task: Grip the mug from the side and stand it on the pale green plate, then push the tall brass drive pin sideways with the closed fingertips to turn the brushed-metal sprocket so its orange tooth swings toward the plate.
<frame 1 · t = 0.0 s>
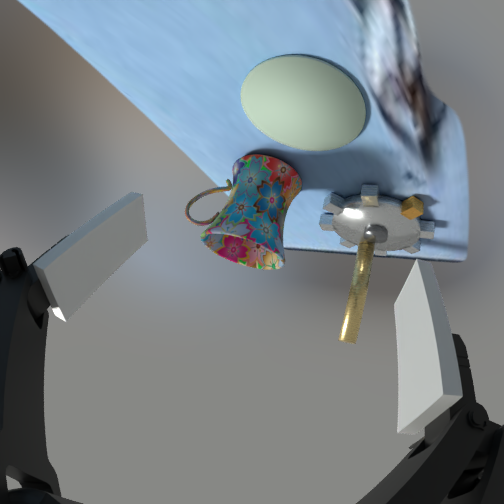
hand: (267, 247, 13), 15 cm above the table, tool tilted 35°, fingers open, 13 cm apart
pale green plate: (302, 106, 23), on the table
mug: (258, 167, 34), on the table
sprocket: (369, 276, 33), point 8 cm above the table, hinge at 0.0°
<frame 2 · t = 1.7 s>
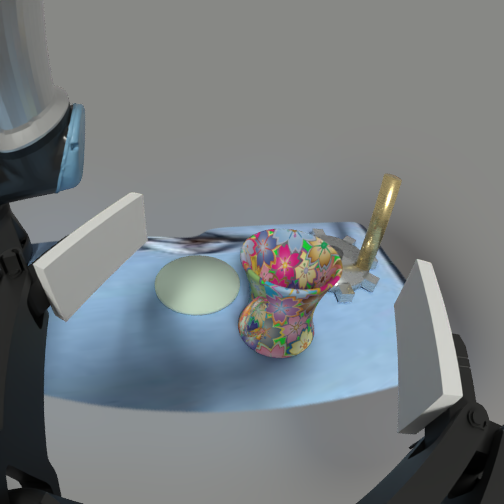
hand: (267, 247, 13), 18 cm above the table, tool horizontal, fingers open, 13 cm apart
pale green plate: (197, 283, 37), on the table
mug: (268, 339, 31), on the table
sprocket: (342, 219, 38), point 8 cm above the table, hinge at 0.0°
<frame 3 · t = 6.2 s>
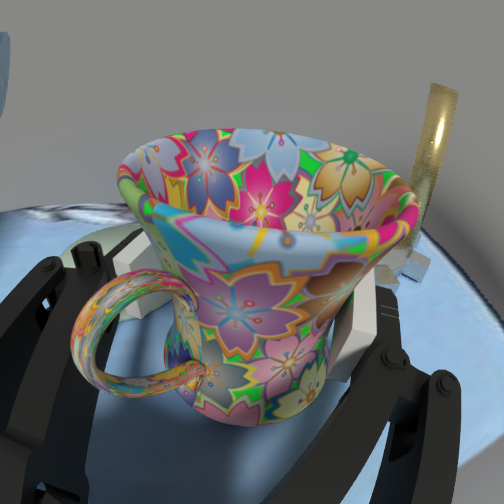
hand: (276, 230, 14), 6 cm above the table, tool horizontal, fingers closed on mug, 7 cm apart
pale green plate: (117, 266, 20), on the table
mug: (230, 378, 14), on the table, touching gripper
sprocket: (368, 158, 21), point 8 cm above the table, hinge at 0.0°
when the fingers open (8 cm above the table, at t = 10.7 s): mug drops 1 cm, resting on pale green plate.
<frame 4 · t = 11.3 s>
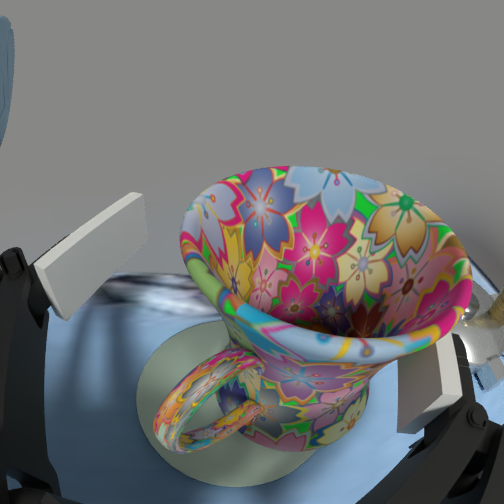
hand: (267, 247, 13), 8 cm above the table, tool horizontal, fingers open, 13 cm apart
pale green plate: (234, 396, 15), on the table
mug: (276, 404, 14), resting on pale green plate, touching gripper
sprocket: (494, 246, 16), point 8 cm above the table, hinge at 0.0°
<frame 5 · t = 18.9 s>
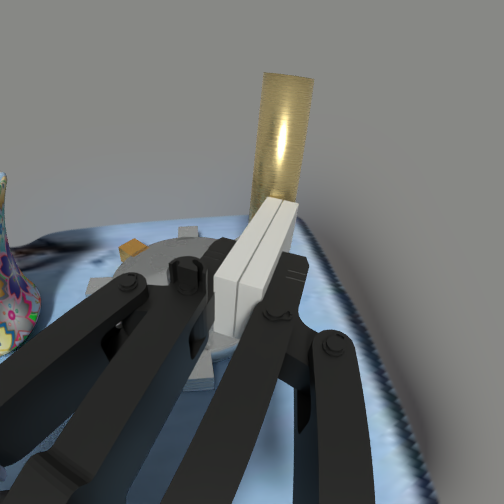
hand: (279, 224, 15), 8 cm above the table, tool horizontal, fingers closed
sprocket: (186, 202, 17), point 8 cm above the table, hinge at 5.5°, touching gripper
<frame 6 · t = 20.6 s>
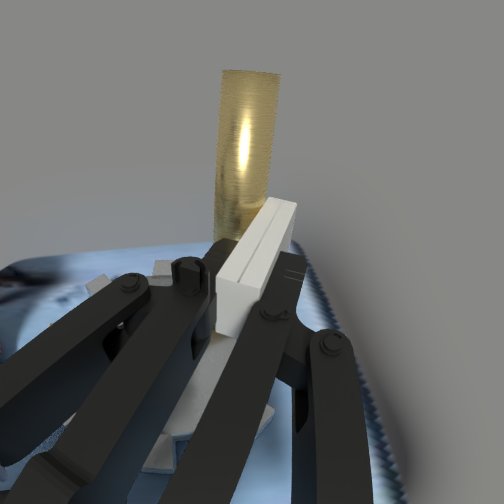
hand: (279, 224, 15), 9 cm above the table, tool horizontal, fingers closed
sprocket: (139, 254, 12), point 8 cm above the table, hinge at 47.9°, touching gripper
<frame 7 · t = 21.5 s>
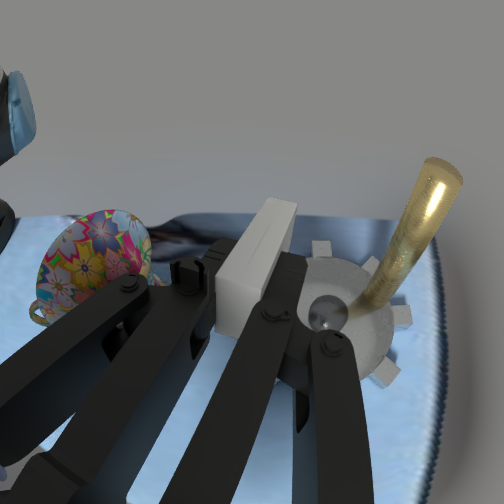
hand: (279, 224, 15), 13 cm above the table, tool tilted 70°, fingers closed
mug: (134, 330, 25), resting on pale green plate
sprocket: (342, 281, 18), point 8 cm above the table, hinge at 57.2°
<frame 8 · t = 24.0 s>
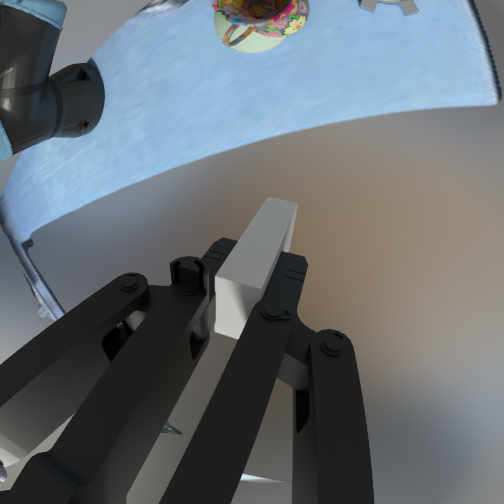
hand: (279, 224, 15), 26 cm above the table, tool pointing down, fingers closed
pale green plate: (253, 17, 29), on the table
mug: (272, 18, 28), resting on pale green plate
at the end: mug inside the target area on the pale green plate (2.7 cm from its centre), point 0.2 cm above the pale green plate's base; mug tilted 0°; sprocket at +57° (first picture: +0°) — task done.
